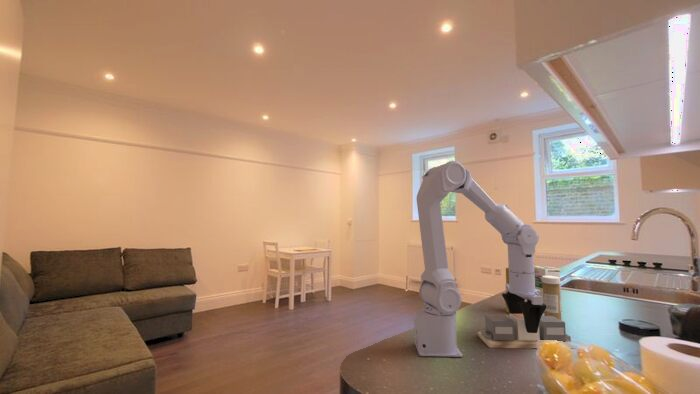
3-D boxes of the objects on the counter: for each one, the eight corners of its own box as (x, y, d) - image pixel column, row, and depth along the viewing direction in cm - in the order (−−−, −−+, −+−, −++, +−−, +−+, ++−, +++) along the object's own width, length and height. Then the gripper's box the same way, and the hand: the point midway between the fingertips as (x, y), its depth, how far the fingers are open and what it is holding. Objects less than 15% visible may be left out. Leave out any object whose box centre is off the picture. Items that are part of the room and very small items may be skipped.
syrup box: (534, 308, 107) (532, 265, 109) (550, 307, 108) (547, 265, 109) (546, 313, 102) (544, 268, 103) (563, 312, 102) (560, 267, 104)
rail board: (489, 347, 74) (488, 323, 74) (477, 335, 82) (477, 313, 82) (577, 349, 73) (575, 324, 73) (556, 336, 81) (555, 314, 81)
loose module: (518, 340, 75) (517, 318, 76) (510, 333, 80) (509, 312, 80) (539, 340, 75) (538, 318, 75) (530, 334, 79) (528, 313, 80)
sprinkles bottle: (565, 323, 92) (562, 276, 93) (557, 326, 89) (555, 278, 90) (548, 319, 95) (545, 274, 96) (540, 321, 93) (538, 276, 94)
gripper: (554, 276, 71) (558, 338, 70) (523, 267, 86) (525, 318, 85) (523, 276, 72) (526, 337, 70) (497, 267, 86) (499, 317, 85)
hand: (523, 327), depth 78 cm, fingers open, 7 cm apart
